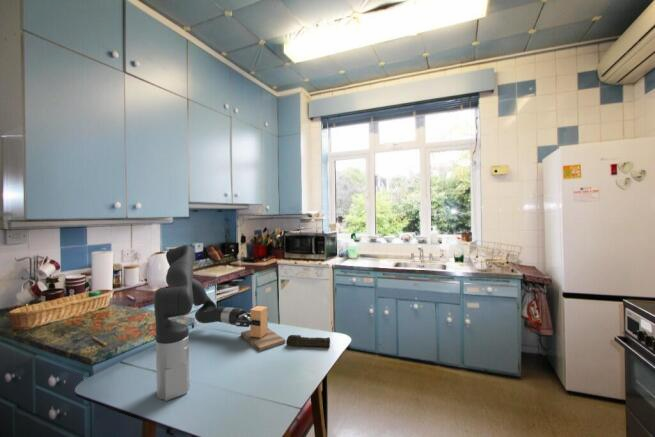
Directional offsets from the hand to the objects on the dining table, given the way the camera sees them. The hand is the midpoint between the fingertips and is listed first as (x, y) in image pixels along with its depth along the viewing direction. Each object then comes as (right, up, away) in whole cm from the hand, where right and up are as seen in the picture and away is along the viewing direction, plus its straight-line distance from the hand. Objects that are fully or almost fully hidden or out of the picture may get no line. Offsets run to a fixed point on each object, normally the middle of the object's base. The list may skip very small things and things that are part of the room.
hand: (263, 321), depth 127 cm
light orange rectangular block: (-2, -6, +1) cm, 7 cm away
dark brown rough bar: (+20, -9, -6) cm, 23 cm away
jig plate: (-1, -8, +1) cm, 9 cm away
